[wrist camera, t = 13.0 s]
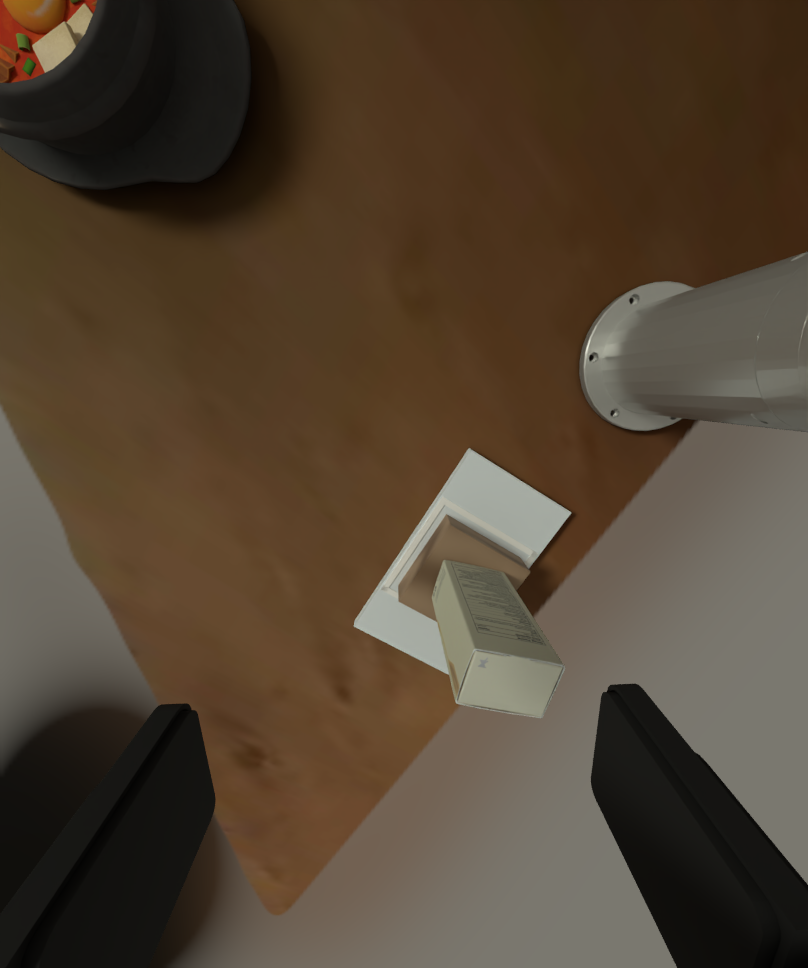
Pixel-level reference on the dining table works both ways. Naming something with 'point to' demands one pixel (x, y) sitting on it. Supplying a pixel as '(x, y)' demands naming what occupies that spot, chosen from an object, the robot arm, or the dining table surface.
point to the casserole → (122, 88)
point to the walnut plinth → (459, 547)
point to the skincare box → (493, 642)
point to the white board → (487, 510)
